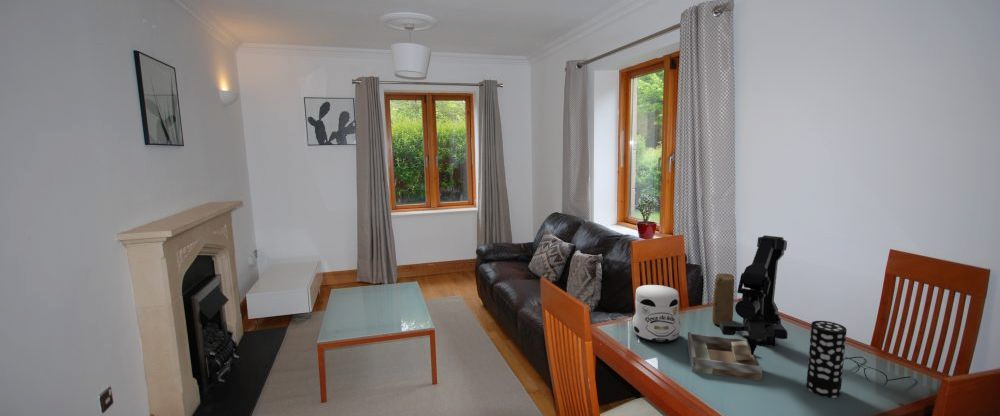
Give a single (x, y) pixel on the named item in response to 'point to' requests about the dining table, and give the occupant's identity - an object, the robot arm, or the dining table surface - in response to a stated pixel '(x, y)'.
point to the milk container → (656, 313)
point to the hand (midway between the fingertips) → (752, 354)
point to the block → (723, 298)
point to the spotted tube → (826, 358)
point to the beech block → (741, 350)
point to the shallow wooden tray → (720, 357)
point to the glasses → (872, 368)
